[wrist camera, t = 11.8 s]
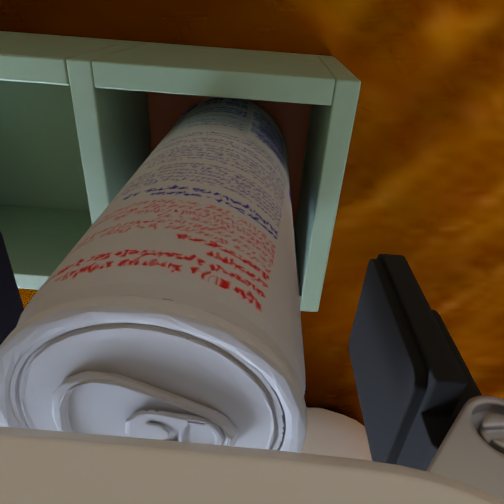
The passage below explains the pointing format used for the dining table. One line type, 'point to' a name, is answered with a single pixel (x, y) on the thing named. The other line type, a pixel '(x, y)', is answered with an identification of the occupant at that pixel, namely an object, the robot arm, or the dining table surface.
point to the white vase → (335, 435)
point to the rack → (153, 135)
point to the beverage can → (175, 301)
